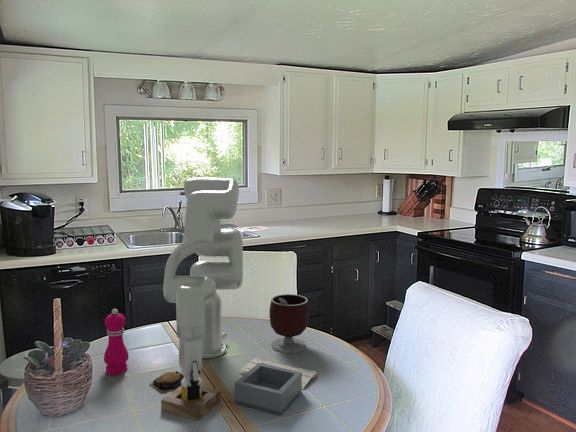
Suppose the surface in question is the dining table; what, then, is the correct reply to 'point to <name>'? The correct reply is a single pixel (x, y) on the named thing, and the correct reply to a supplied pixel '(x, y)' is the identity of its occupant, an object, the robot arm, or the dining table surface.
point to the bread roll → (167, 382)
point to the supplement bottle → (184, 389)
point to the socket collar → (191, 403)
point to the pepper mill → (115, 344)
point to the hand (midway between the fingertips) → (191, 393)
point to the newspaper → (305, 372)
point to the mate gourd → (289, 321)
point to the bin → (268, 388)
